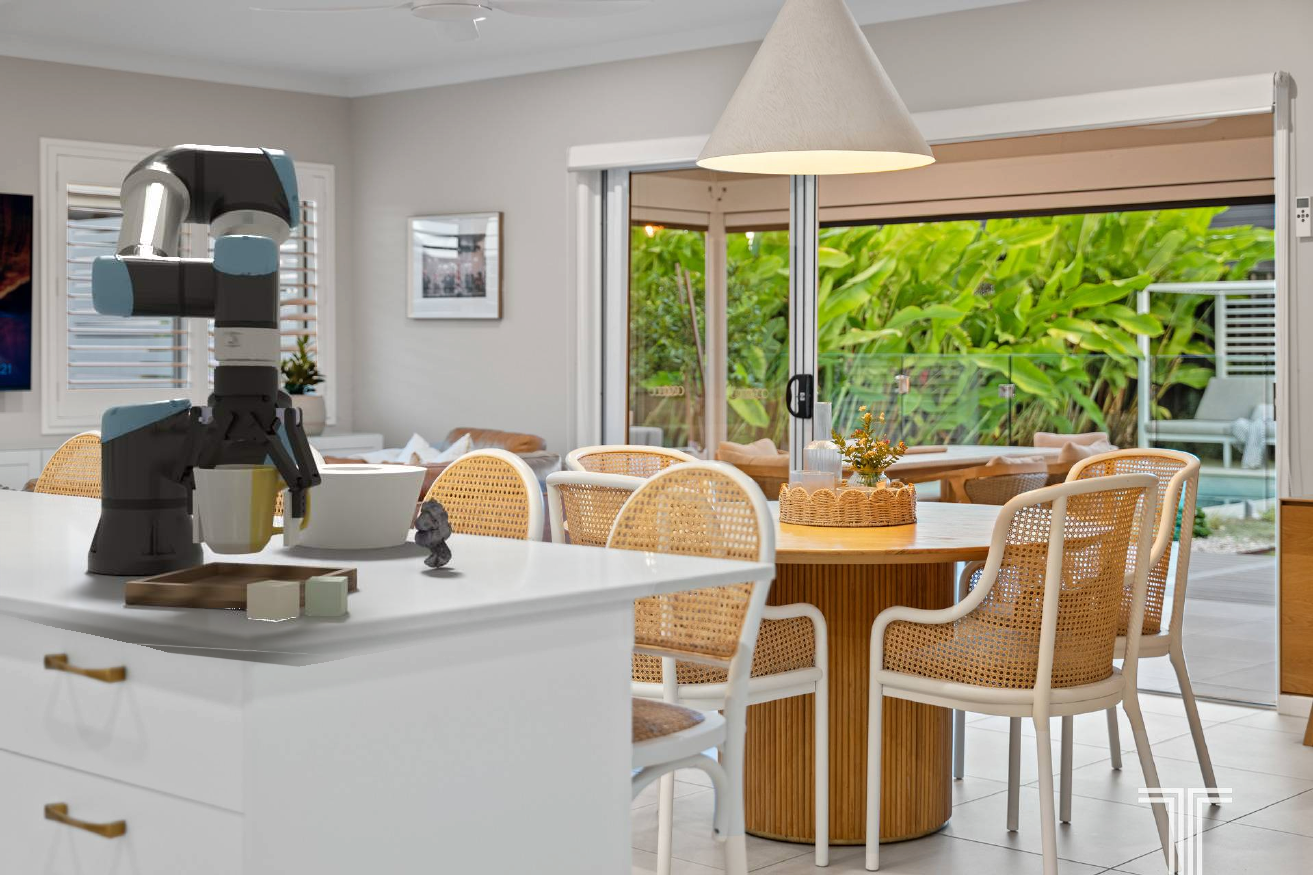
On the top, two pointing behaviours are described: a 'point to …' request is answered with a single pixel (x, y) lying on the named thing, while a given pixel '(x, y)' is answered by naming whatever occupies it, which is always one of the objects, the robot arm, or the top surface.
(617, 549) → the top surface
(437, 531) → the grey stone bust
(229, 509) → the mug
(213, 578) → the tray
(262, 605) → the cream block
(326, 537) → the bowl
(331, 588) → the sage block
